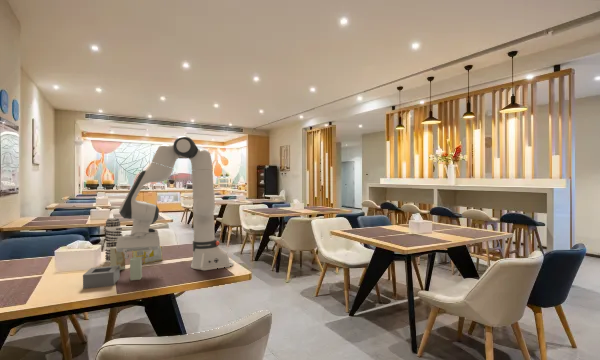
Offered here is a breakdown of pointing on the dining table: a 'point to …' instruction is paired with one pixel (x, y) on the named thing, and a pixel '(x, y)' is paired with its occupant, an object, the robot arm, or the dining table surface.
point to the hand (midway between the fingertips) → (136, 257)
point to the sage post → (136, 268)
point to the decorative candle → (111, 235)
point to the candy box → (153, 256)
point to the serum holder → (101, 276)
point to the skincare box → (117, 258)
